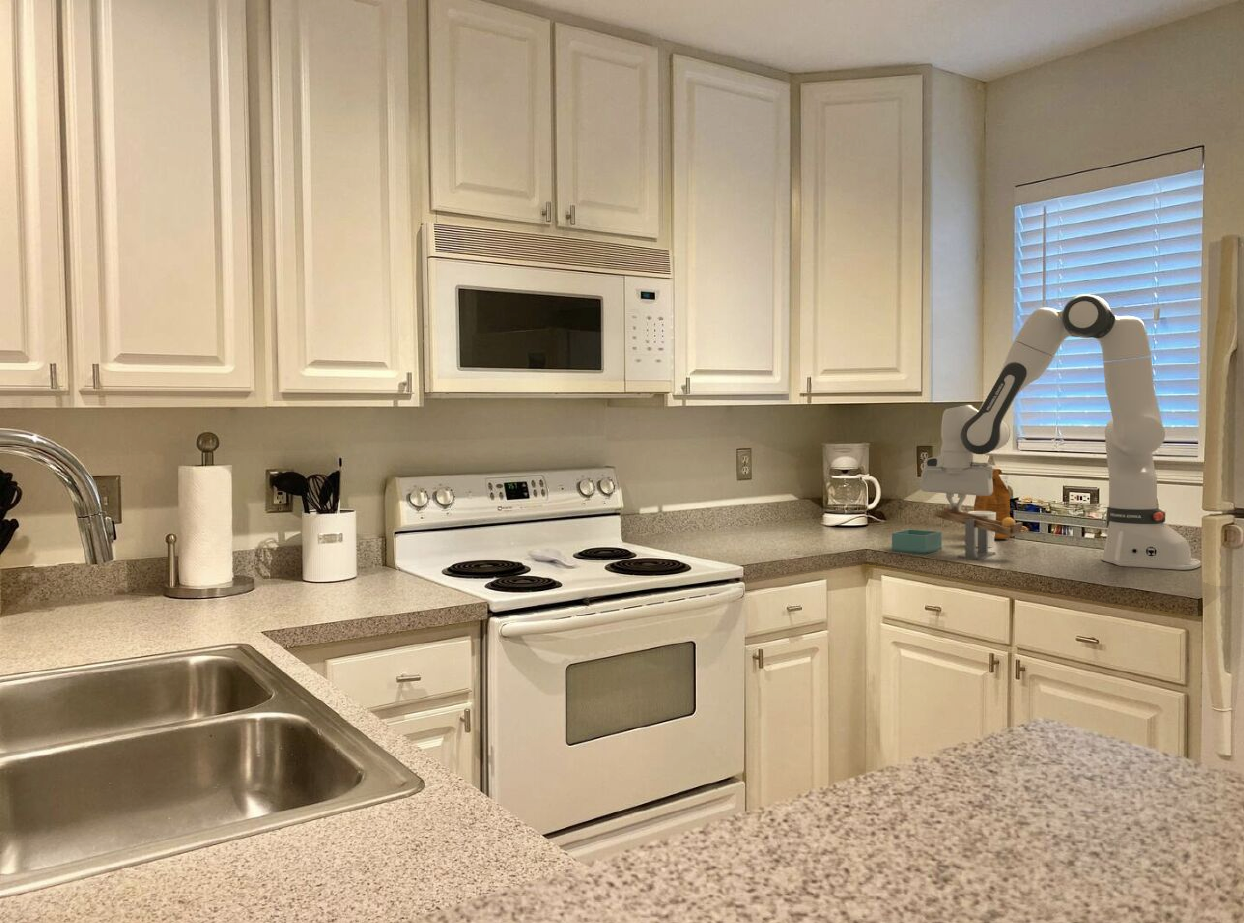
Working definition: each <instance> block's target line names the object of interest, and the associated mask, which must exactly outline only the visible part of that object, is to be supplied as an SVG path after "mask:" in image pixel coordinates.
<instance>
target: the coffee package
mask: <svg viewBox="0 0 1244 923" xmlns="http://www.w3.org/2000/svg"><path fill="white" fill-rule="evenodd" d="M988 467H989V466H988ZM1002 473H1003V472H1002V470H1001V469H1000V468H993V476H992V481H993V493H992V494H991V495H989V496H978V495H975V499H974V503H973V504H974V506H973V511H991V512H996V521H1000V522H1002V521H1003V519H1005V518H1007V517H1010V518H1011V515H1010V512H1011V505H1010V503H1011V501H1010V500H1011V494H1010V490H1009V489H1008V487H1007V485H1006V484H1005V483H1004V481H1003V479H1002V478H1001V476H1000V475H1002ZM1003 539H1004V540H1005V539H1010V536H1007V535H1003V534H1000V533H996V532H995V537H994V541H995V540H1003Z"/></svg>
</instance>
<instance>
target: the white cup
mask: <svg viewBox="0 0 1244 923" xmlns="http://www.w3.org/2000/svg"><path fill="white" fill-rule="evenodd" d="M966 513H968V514H972V515H976V516H988V519H992V520H996V512H991V511H974V510H969V511H967V512H966ZM994 537H995V532H992V531H988V549H989V548H993V547H995V540H994ZM975 548H978V528H977V527H975Z"/></svg>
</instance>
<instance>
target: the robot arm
mask: <svg viewBox="0 0 1244 923" xmlns="http://www.w3.org/2000/svg"><path fill="white" fill-rule="evenodd" d="M1069 337H1075V338H1081V339H1082V338H1083V339H1091V338H1093V339H1096V340H1098V342H1099V344H1100V346H1101V352H1102V361H1103V362H1102V363H1103V375H1104V376H1103V377H1104V386H1105V394H1106V396H1107V400H1108V404H1109V408H1110V412H1111V418H1110V419H1109V420H1108V422H1107V423H1106V425H1105V428H1104V438H1105V452H1106V454H1105V455H1106V463H1107V464H1106V465H1107V470H1108V506H1107V507H1106V513H1105V514H1106V515H1105V519H1106V520H1105V522H1106V523H1105V524H1106V528H1107V530H1106V531H1107V532H1106V539H1105V543H1104V544H1105V545H1104V548H1103V552H1102V555H1101V557H1100V559H1101V560H1102V561H1103V562H1104V561H1105V562H1107V563H1111V564H1115V565H1116V566H1121V567H1136V568H1148V569H1149V568H1151V569H1152V568H1153V569H1166V570H1180V571H1181V570H1184V571H1185V570H1193V569H1194V570H1195V569H1197V568H1199V567H1200V566H1202V562H1201V560H1200V559H1197V558H1192V553H1191V549H1190V548H1191V547H1190V544H1189V541H1188V540H1187V539H1186V537H1184V536H1183V535H1181V534H1180V533H1179V532H1177V531H1176V530H1174V529H1173V528H1172V527H1171V526H1169V525H1168V524H1166V514H1167V511H1166V510H1164V511H1163V510H1162V509H1159V508H1158V507H1157V502H1158V500H1157V499H1158V498H1157V497H1158V476H1157V474H1156V468H1155V462H1154V456H1153V455H1154V454H1153V453H1154V452H1156V451H1157V450H1158V449H1159V448H1160V447H1161V446H1162V445H1163V443H1164V441H1165V437H1166V433H1165V432H1166V431H1165V428H1164V424H1163V421H1162V416H1161V415H1162V414H1161V411H1160V407H1159V402H1158V398H1157V395H1156V390H1155V383H1154V373H1153V363H1152V362H1153V361H1152V353H1151V347H1150V346H1151V345H1150V342H1149V335H1148V332H1147V329H1146V326H1145V324H1144V321H1142V320H1141V319H1140V318H1139V317H1135V316H1131V315H1123V316H1119V315H1118V316H1117V315H1115V313H1113V311H1112V310H1111V308H1110V306H1109V304H1108V303H1107V301H1105V300H1104V299H1103V298H1102V297H1100V296H1097V295H1094V294H1087V293H1086V294H1084V293H1083V294H1079V295H1076V296H1075V297H1073V298H1071V299H1070V300H1069V301H1068V302H1067V303H1066V304H1065V306H1064V308H1063V309H1061V310H1059V309H1055V308H1052V307H1040V308H1037V309H1035V310H1034V311H1033V312H1032V313H1031V314H1030V315H1029V316H1028V318H1027V319H1026V321H1025V322H1024V323H1023V325H1022V326H1021V328H1020V330H1019V331H1018V333H1017V335H1016V337H1015V338H1014V340H1013V342H1012V344H1011V346H1010V349H1009V351H1008V353H1007V355H1006V358H1005V361H1004V362H1003V365H1002V368H1001V371H1000V372H999V375H998V377H997V380H996V381H995V383H994V385H993V386H992V388H991V390H990V392H989V394H988V395H987V396H986V399H985V400H984V402H983V404H982V405H981V407H980V409H977V408H976V407H975V406H973V405H972V404H969V403H965V404H957V405H953V406H949V407H947V408H946V409H945V410H944V411H943V413H942V419H941V428H940V430H941V431H940V437H941V442H942V443H941V446H940V454H939V455H935V456H934V457H933V456H932V457H929V458H925V459H924V460H923V466H924V468H923V469H922V471H921V475H920V485H919V486H920V489H921V491H922V492H926V493H937V494H938V493H939V494H946V495H945V498H946V499H947V501H948V503H949V509H953V510H962V505H963V503H964V501H965V500H966V497H967V496H976V495H978V496H989V495H991V494H992V493H993V481H992V476H993V469H994V468H993V466H992V465H991V464H989V463H988V462H977V461H974V454H975V455H986V454H988V453H990V452H994V451H996V450H999V449H1001V448H1003V447H1004V446H1005V445H1006V444H1007V443H1008V442H1009V440H1010V437H1011V430H1010V426H1009V425H1008V423H1007V422H1006V421H1005V420H1004V418H1005V416H1006V415H1007V413H1008V411H1009V410H1010V408H1011V406H1012V404H1013V402H1014V400H1015V399H1016V398H1017V396H1018V394H1019V393H1020V392H1021V391H1022V390H1024V389H1025V388H1026V387H1027V386H1028V385H1030V384H1032V383H1033V382H1035V381H1037V380H1038V379H1039V378H1041V377H1042V375H1043V374H1044V373H1045V372H1046V370H1047V369H1048V368H1049V366H1050V365H1051V363H1052V361H1053V360H1054V357H1055V356H1056V353H1057V352H1058V350H1059V348H1060V347H1061V345H1062V344H1063V342H1064V341H1065V340H1066V339H1068V338H1069ZM988 466H989V467H988ZM955 495H957V498H958V501H957V502H955V501H954V498H953V497H955Z"/></svg>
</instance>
